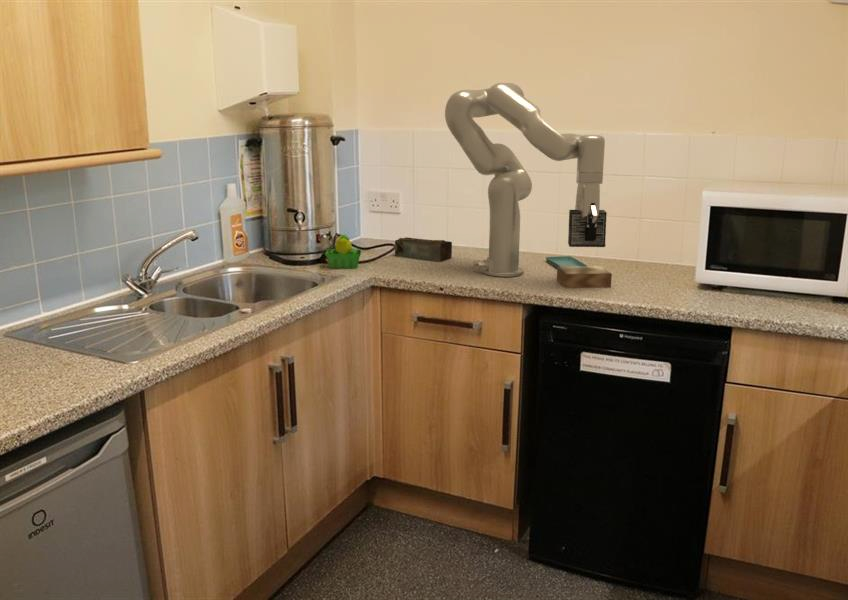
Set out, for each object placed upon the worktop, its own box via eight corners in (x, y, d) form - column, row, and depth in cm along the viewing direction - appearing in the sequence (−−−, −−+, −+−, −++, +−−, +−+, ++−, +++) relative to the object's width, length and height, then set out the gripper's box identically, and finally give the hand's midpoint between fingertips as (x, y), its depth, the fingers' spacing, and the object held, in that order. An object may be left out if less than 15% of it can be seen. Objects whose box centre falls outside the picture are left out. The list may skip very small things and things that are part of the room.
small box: (602, 243, 239) (604, 209, 237) (605, 247, 233) (607, 212, 230) (567, 243, 240) (569, 208, 238) (569, 247, 234) (570, 211, 231)
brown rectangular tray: (564, 287, 234) (565, 273, 233) (556, 279, 244) (557, 266, 243) (610, 287, 235) (611, 272, 234) (601, 279, 245) (602, 265, 244)
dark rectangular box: (406, 253, 284) (406, 234, 283) (453, 259, 275) (453, 240, 273) (394, 256, 278) (394, 238, 276) (441, 263, 268) (442, 243, 267)
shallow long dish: (544, 262, 271) (545, 255, 270) (570, 261, 272) (570, 254, 272) (570, 280, 246) (570, 272, 245) (598, 279, 247) (599, 271, 247)
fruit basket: (361, 264, 264) (361, 230, 262) (360, 270, 256) (360, 235, 253) (327, 264, 264) (326, 230, 261) (325, 270, 256) (324, 235, 253)
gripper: (569, 175, 240) (567, 233, 244) (584, 181, 223) (581, 243, 227) (594, 175, 240) (591, 233, 245) (610, 181, 223) (607, 243, 228)
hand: (586, 237), depth 236 cm, fingers closed on small box, 6 cm apart
